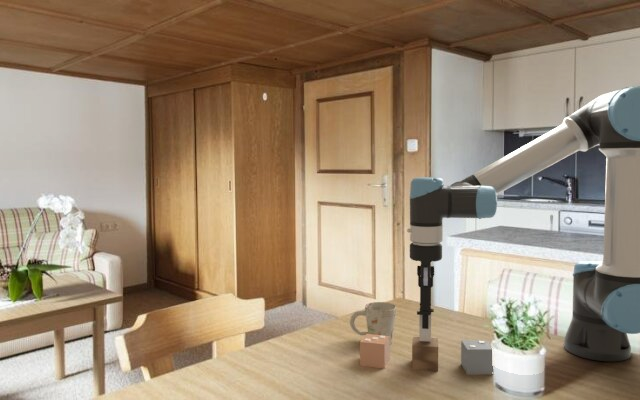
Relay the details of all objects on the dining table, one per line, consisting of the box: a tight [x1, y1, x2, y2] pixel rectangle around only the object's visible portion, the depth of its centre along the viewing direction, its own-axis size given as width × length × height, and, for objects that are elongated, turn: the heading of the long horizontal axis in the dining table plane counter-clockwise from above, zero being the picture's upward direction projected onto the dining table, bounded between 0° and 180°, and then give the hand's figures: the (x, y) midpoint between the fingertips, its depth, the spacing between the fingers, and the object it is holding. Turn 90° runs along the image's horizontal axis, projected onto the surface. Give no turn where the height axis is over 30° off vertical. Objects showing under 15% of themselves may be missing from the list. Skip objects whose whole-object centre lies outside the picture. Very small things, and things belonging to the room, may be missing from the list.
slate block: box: [460, 339, 494, 375], centre depth 125 cm, size 6×6×6 cm
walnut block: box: [411, 336, 439, 373], centre depth 128 cm, size 6×6×6 cm
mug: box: [349, 301, 397, 345], centre depth 144 cm, size 8×13×10 cm, turn 78°
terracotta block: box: [359, 334, 391, 369], centre depth 130 cm, size 6×6×6 cm
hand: (425, 340), depth 128 cm, fingers closed
